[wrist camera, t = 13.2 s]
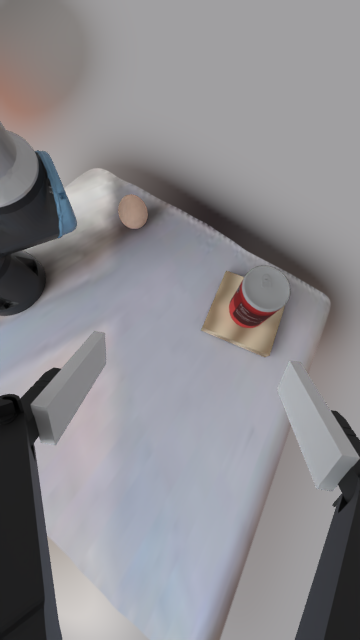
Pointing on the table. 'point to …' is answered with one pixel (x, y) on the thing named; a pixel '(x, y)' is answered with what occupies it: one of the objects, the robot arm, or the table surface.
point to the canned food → (259, 296)
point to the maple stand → (228, 330)
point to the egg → (132, 211)
